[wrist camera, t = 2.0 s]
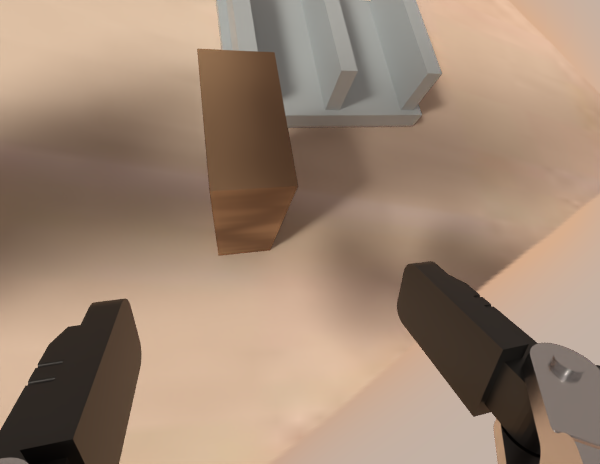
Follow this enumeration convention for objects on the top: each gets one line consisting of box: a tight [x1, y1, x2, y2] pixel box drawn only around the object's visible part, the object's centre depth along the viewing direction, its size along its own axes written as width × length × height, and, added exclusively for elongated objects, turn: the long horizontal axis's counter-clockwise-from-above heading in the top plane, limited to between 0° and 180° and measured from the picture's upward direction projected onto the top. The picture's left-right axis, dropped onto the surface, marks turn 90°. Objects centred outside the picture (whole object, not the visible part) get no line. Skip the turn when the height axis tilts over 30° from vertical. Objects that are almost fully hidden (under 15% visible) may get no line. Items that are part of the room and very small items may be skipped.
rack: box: [216, 0, 442, 128], centre depth 26 cm, size 16×13×6 cm
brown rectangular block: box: [197, 49, 298, 256], centre depth 18 cm, size 4×7×10 cm, turn 10°
